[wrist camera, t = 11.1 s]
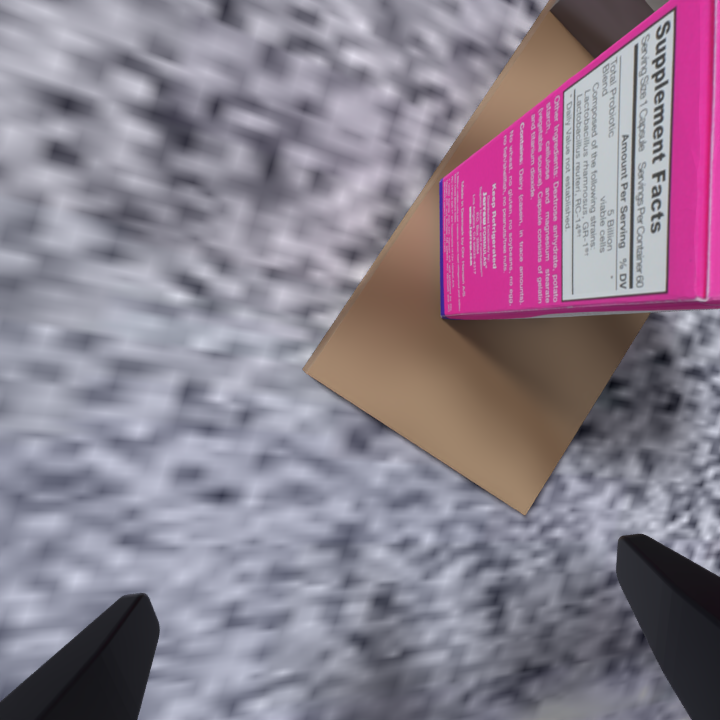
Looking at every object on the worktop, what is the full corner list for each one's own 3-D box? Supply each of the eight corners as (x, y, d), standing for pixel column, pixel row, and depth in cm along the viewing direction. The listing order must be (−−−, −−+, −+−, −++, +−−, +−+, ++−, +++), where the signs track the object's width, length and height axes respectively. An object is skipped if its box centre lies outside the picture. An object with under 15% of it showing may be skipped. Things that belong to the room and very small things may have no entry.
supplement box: (559, 179, 20) (970, -2, 8) (556, 317, 20) (937, 316, 9) (434, 173, 18) (728, -55, 7) (435, 321, 19) (708, 325, 8)
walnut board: (506, 502, 22) (570, 547, 18) (302, 369, 19) (318, 384, 15) (713, 171, 23) (820, 137, 19) (551, -3, 20) (634, -91, 16)
